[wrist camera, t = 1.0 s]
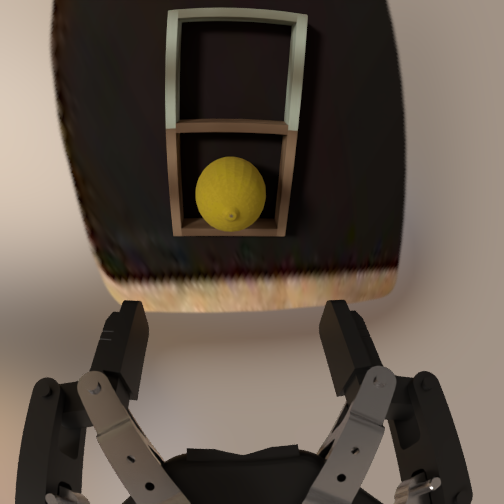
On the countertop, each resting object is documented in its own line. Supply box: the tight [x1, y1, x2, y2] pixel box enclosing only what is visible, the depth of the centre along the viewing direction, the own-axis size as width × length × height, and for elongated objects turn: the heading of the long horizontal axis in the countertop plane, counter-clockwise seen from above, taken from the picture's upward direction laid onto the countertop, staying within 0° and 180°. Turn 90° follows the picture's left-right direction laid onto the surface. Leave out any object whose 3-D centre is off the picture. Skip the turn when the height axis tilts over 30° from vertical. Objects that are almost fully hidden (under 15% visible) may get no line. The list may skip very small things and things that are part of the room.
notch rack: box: [165, 8, 308, 236], centre depth 22 cm, size 20×11×2 cm, turn 177°
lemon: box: [196, 157, 266, 232], centre depth 22 cm, size 6×6×8 cm
